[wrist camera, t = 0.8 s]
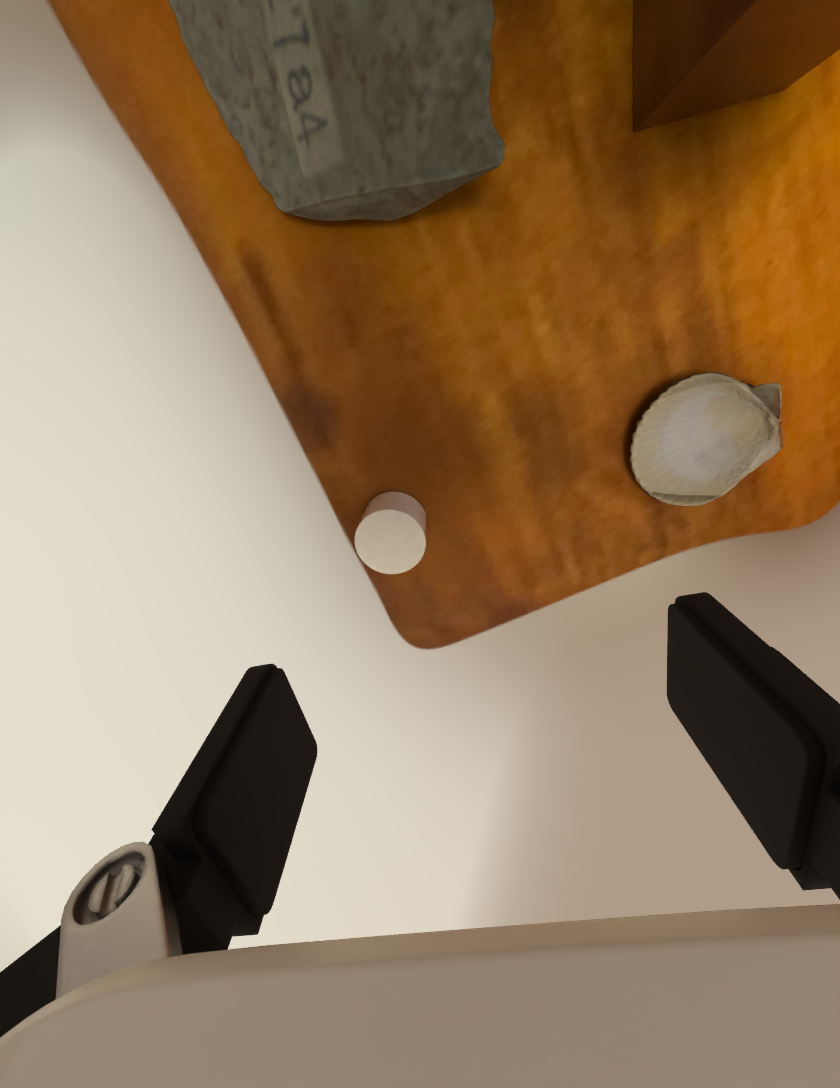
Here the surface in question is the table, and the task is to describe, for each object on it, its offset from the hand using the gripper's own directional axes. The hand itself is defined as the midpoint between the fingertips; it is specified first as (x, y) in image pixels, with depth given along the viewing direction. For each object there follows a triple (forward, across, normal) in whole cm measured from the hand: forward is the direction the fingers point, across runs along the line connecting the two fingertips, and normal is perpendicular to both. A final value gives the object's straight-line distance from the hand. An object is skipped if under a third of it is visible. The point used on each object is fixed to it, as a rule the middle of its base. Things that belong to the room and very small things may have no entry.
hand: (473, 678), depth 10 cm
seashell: (+20, -16, +1) cm, 25 cm away
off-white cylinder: (+20, +4, +3) cm, 21 cm away
